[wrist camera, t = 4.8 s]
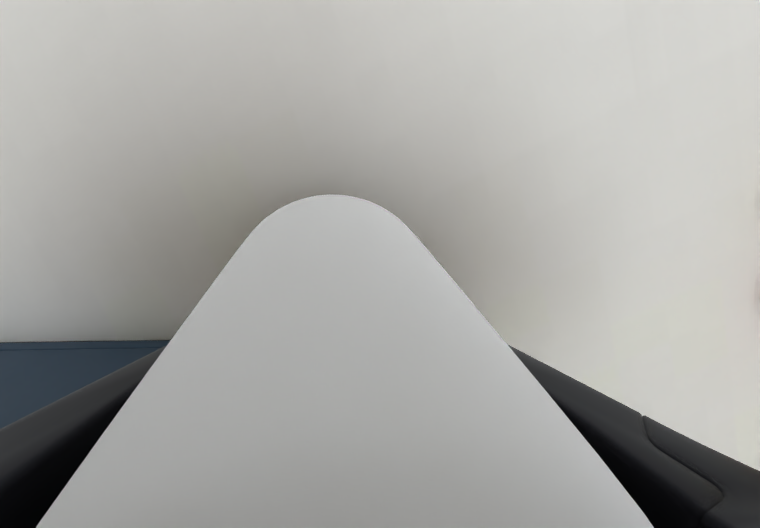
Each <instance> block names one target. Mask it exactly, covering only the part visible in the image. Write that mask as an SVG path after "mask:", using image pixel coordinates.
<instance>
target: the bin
mask: <svg viewBox="0 0 760 528" xmlns="http://www.w3.org/2000/svg"><path fill="white" fill-rule="evenodd" d="M170 341H171V340H156V341H91V342H27V343H0V429H1V428H3V427H5V426H7V425H9V424H11V423H13V422H15V421H17V420H19V419H21V418H23V417H25V416H27V415H29V414H31V413H33V412H35V411H37V410H39V409H41V408H43V407H45V406H47V405H49V404H51V403H53V402H55V401H57V400H59V399H61V398H63V397H65V396H67V395H69V394H71V393H73V392H75V391H77V390H79V389H81V388H83V387H85V386H87V385H89V384H90V383H92V382H94V381H96V380H98V379H100V378H102V377H104V376H106V375H108V374H110V373H112V372H114V371H116V370H118V369H120V368H122V367H124V366H126V365H128V364H130V363H132V362H134V361H136V360H138V359H140V358H142V357H144V356H146V355H148V354H150V353H152V352H154V351H156V350H158V349H160V348H162V347H164V346H166V345H168V343H169V342H170Z"/></svg>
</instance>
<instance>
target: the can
mask: <svg viewBox="0 0 760 528" xmlns="http://www.w3.org/2000/svg"><path fill="white" fill-rule="evenodd" d="M36 528H654V527H653V526H652V524H651V523H650V521H649V520H648V518H647V517H646V515H645V514H644V513H643V511H642V510H641V509H640V507H639V506H638V505H637V504H636V502H635V501H634V500H633V498H632V497H631V496H630V495H629V493H628V492H627V491H626V490H625V488H624V487H623V486H622V484H621V483H620V482H619V481H618V479H617V478H616V477H615V476H614V474H613V473H612V472H611V470H610V469H609V468H608V467H607V465H606V464H605V463H604V462H603V460H602V459H601V458H600V456H599V455H598V454H597V453H596V451H595V450H594V449H593V448H592V447H591V445H590V444H589V443H588V442H587V440H586V439H585V438H584V437H583V436H582V434H581V433H580V432H579V431H578V429H577V428H576V427H575V426H574V425H573V423H572V422H571V421H570V420H569V419H568V417H567V416H566V415H565V414H564V412H563V411H562V410H561V409H560V408H559V406H558V405H557V404H556V403H555V401H554V400H553V399H552V398H551V397H550V395H549V394H548V393H547V392H546V390H545V389H544V388H543V387H542V386H541V384H540V383H539V382H538V381H537V380H536V378H535V377H534V376H533V375H532V374H531V372H530V371H529V370H528V369H527V368H526V366H525V365H524V364H523V363H522V362H521V360H520V359H519V358H518V357H517V356H516V354H515V353H514V352H513V351H512V350H511V348H510V347H509V346H508V345H507V343H506V342H505V341H504V340H503V339H502V337H501V336H500V335H499V334H498V333H497V331H496V330H495V329H494V328H493V327H492V325H491V324H490V323H489V322H488V321H487V320H486V318H485V317H484V316H483V315H482V314H481V312H480V311H479V310H478V309H477V308H476V306H475V305H474V304H473V303H472V302H471V300H470V299H469V298H468V297H467V296H466V294H465V293H464V292H463V291H462V290H461V288H460V287H459V286H458V285H457V284H456V283H455V281H454V280H453V279H452V278H451V277H450V275H449V274H448V273H447V272H446V271H445V269H444V268H443V267H442V266H441V265H440V264H439V262H438V261H437V260H436V259H435V258H434V256H433V255H432V254H431V253H430V252H429V251H428V249H427V248H426V247H425V246H424V245H423V244H422V242H421V241H420V240H419V239H418V238H417V237H416V236H415V234H414V233H413V232H412V231H411V230H410V229H409V228H408V227H407V226H406V225H405V224H404V223H403V222H402V221H401V220H400V219H399V218H398V217H396V216H395V215H394V214H392V213H391V212H389V211H388V210H386V209H385V208H383V207H381V206H379V205H377V204H375V203H372V202H370V201H367V200H364V199H361V198H357V197H353V196H347V195H332V194H330V195H318V196H312V197H307V198H303V199H300V200H297V201H294V202H292V203H289V204H287V205H285V206H283V207H281V208H280V209H278V210H276V211H275V212H273V213H272V214H270V215H269V216H268V217H266V218H265V219H264V220H263V221H262V222H261V223H260V224H258V225H257V227H256V228H255V229H254V230H253V231H252V232H251V233H250V234H249V236H248V237H247V238H246V239H245V241H244V242H243V243H242V245H241V246H240V247H239V248H238V250H237V251H236V252H235V254H234V255H233V256H232V258H231V259H230V260H229V262H228V263H227V264H226V266H225V267H224V268H223V270H222V271H221V273H220V274H219V275H218V277H217V278H216V279H215V281H214V282H213V283H212V285H211V286H210V287H209V289H208V290H207V291H206V293H205V294H204V296H203V297H202V298H201V300H200V301H199V302H198V304H197V305H196V306H195V308H194V309H193V311H192V312H191V313H190V315H189V316H188V317H187V319H186V320H185V321H184V323H183V324H182V326H181V327H180V328H179V330H178V331H177V332H176V334H175V335H174V336H173V338H172V339H171V341H170V342H169V343H168V345H167V346H166V347H165V349H164V350H163V351H162V353H161V354H160V356H159V357H158V358H157V360H156V361H155V362H154V364H153V365H152V367H151V368H150V369H149V371H148V372H147V374H146V375H145V376H144V378H143V379H142V380H141V382H140V383H139V385H138V386H137V387H136V389H135V390H134V391H133V393H132V394H131V396H130V397H129V398H128V400H127V401H126V402H125V404H124V405H123V407H122V408H121V409H120V411H119V412H118V413H117V415H116V416H115V418H114V419H113V420H112V422H111V423H110V424H109V426H108V427H107V429H106V430H105V431H104V433H103V434H102V435H101V437H100V438H99V440H98V441H97V442H96V444H95V445H94V447H93V448H92V449H91V451H90V452H89V454H88V455H87V456H86V458H85V459H84V461H83V462H82V463H81V465H80V466H79V468H78V469H77V470H76V472H75V473H74V475H73V476H72V477H71V479H70V480H69V482H68V483H67V484H66V486H65V487H64V489H63V490H62V491H61V493H60V494H59V495H58V497H57V498H56V500H55V501H54V502H53V504H52V505H51V507H50V508H49V509H48V511H47V512H46V514H45V515H44V516H43V518H42V519H41V521H40V522H39V524H38V525H37V527H36Z"/></svg>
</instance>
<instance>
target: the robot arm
mask: <svg viewBox="0 0 760 528" xmlns="http://www.w3.org/2000/svg"><path fill="white" fill-rule="evenodd" d="M166 346H167V345H166ZM166 346H164V347H162V348H160V349H158V350H156V351H154V352H152V353H150V354H148V355H146V356H144V357H142V358H140V359H138V360H136V361H134V362H132V363H130V364H128V365H126V366H124V367H122V368H120V369H118V370H116V371H114V372H112V373H110V374H108V375H106V376H104V377H102V378H100V379H98V380H96V381H94V382H92V383H90V384H89V385H87V386H85V387H83V388H81V389H79V390H77V391H75V392H73V393H71V394H69V395H67V396H65V397H63V398H61V399H59V400H57V401H55V402H53V403H51V404H49V405H47V406H45V407H43V408H41V409H39V410H37V411H35V412H33V413H31V414H29V415H27V416H25V417H23V418H21V419H19V420H17V421H15V422H13V423H11V424H9V425H7V426H5V427H3V428H1V429H0V528H36V527H37V525H38V524H39V522H40V521H41V519H42V518H43V516H44V515H45V514H46V512H47V511H48V509H49V508H50V507H51V505H52V504H53V502H54V501H55V500H56V498H57V497H58V495H59V494H60V493H61V491H62V490H63V489H64V487H65V486H66V484H67V483H68V482H69V480H70V479H71V477H72V476H73V475H74V473H75V472H76V470H77V469H78V468H79V466H80V465H81V463H82V462H83V461H84V459H85V458H86V456H87V455H88V454H89V452H90V451H91V449H92V448H93V447H94V445H95V444H96V442H97V441H98V440H99V438H100V437H101V435H102V434H103V433H104V431H105V430H106V429H107V427H108V426H109V424H110V423H111V422H112V420H113V419H114V418H115V416H116V415H117V413H118V412H119V411H120V409H121V408H122V407H123V405H124V404H125V402H126V401H127V400H128V398H129V397H130V396H131V394H132V393H133V391H134V390H135V389H136V387H137V386H138V385H139V383H140V382H141V380H142V379H143V378H144V376H145V375H146V374H147V372H148V371H149V369H150V368H151V367H152V365H153V364H154V362H155V361H156V360H157V358H158V357H159V356H160V354H161V353H162V351H163V350H164V349H165V347H166ZM508 346H509V345H508ZM509 347H510V348H511V350H512V351H513V352H514V353H515V354H516V356H517V357H518V358H519V359H520V360H521V362H522V363H523V364H524V365H525V366H526V368H527V369H528V370H529V371H530V372H531V374H532V375H533V376H534V377H535V378H536V380H537V381H538V382H539V383H540V384H541V386H542V387H543V388H544V389H545V390H546V392H547V393H548V394H549V395H550V397H551V398H552V399H553V400H554V401H555V403H556V404H557V405H558V406H559V408H560V409H561V410H562V411H563V412H564V414H565V415H566V416H567V417H568V419H569V420H570V421H571V422H572V423H573V425H574V426H575V427H576V428H577V429H578V431H579V432H580V433H581V434H582V436H583V437H584V438H585V439H586V440H587V442H588V443H589V444H590V445H591V447H592V448H593V449H594V450H595V451H596V453H597V454H598V455H599V456H600V458H601V459H602V460H603V462H604V463H605V464H606V465H607V467H608V468H609V469H610V470H611V472H612V473H613V474H614V476H615V477H616V478H617V479H618V481H619V482H620V483H621V484H622V486H623V487H624V488H625V490H626V491H627V492H628V493H629V495H630V496H631V497H632V498H633V500H634V501H635V502H636V504H637V505H638V506H639V507H640V509H641V510H642V511H643V513H644V514H645V515H646V517H647V518H648V520H649V521H650V523H651V524H652V526H653V527H654V528H760V471H758V470H756V469H754V468H751V467H749V466H747V465H745V464H743V463H741V462H738V461H736V460H734V459H732V458H730V457H728V456H726V455H723V454H721V453H719V452H717V451H715V450H713V449H711V448H709V447H706V446H704V445H702V444H700V443H698V442H696V441H694V440H692V439H690V438H688V437H686V436H684V435H682V434H680V433H678V432H676V431H674V430H672V429H670V428H668V427H666V426H664V425H662V424H660V423H658V422H656V421H654V420H652V419H651V418H649V417H647V416H642V415H641V414H640V413H639V412H637V411H635V410H633V409H631V408H629V407H627V406H625V405H623V404H621V403H619V402H617V401H616V400H614V399H612V398H610V397H608V396H606V395H604V394H602V393H600V392H598V391H596V390H594V389H592V388H590V387H589V386H587V385H585V384H583V383H581V382H579V381H577V380H575V379H573V378H571V377H569V376H567V375H565V374H563V373H561V372H560V371H558V370H556V369H554V368H552V367H550V366H548V365H546V364H544V363H542V362H540V361H538V360H536V359H534V358H533V357H531V356H529V355H527V354H525V353H523V352H521V351H519V350H517V349H515V348H513V347H511V346H509Z"/></svg>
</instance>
